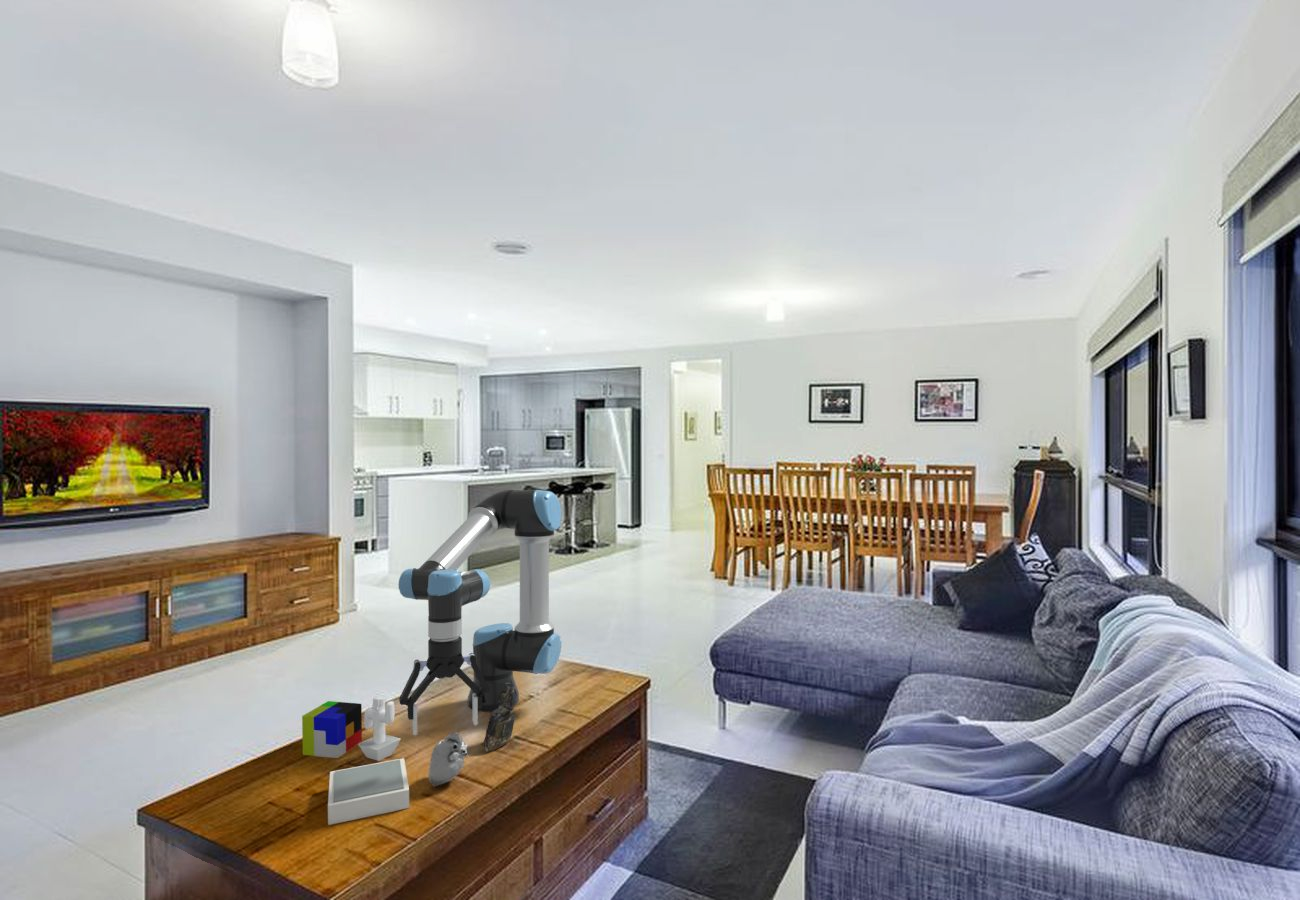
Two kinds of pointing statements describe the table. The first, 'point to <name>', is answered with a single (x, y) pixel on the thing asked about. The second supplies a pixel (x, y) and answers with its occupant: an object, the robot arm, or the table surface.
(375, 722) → the figurine
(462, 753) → the heart
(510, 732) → the statue
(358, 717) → the puzzle toy
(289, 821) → the table surface
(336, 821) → the plinth
